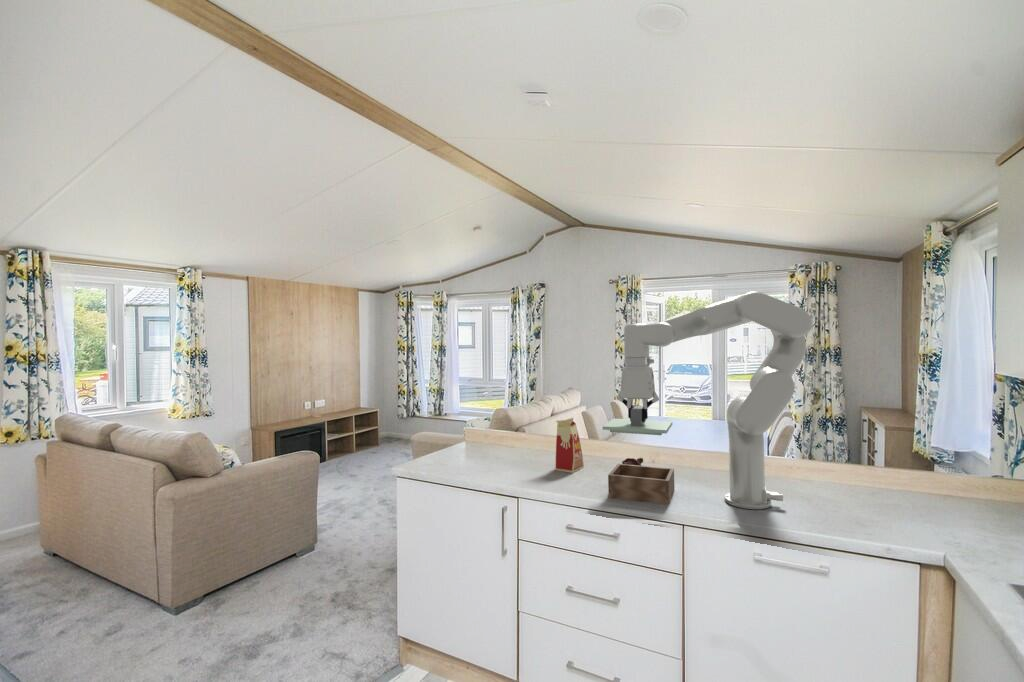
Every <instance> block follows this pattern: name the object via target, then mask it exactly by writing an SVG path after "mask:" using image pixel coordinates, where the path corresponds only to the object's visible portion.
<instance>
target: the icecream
mask: <svg viewBox="0 0 1024 682" xmlns="http://www.w3.org/2000/svg"><path fill="white" fill-rule="evenodd" d="M643 462H644V458H642V457H639V458H637V459H636V458H629V457H627V458H626V459H624V460H622V461H621V464H627V465H638V466H642V464H643Z"/></svg>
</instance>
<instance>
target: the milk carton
mask: <svg viewBox="0 0 1024 682" xmlns="http://www.w3.org/2000/svg"><path fill="white" fill-rule="evenodd" d="M555 422H556V423H557V426H556V440H555V468H554V469H555V471H558V472H565V473H571V474H573V473H576V472H577V471H579V470H582V469H583V468H585V467H584V466H585V465H584V456H583V450H582V445H581V444H582V443H581V440H580V436H579V431H578V427H577V423H576V422H574V417H571V418H567V419H562V420H561V419H560V420H555Z"/></svg>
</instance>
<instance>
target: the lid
mask: <svg viewBox="0 0 1024 682" xmlns="http://www.w3.org/2000/svg"><path fill="white" fill-rule="evenodd" d="M642 409H643V405H641V406H639V405H635V406H633V408H632V409H631V421H630V418H628V419H627V418H612V419H611V420H609V421H608V422H606V423H605V424H604V425H602V430H603V431H605V430H606V431H609V433H619V434H635V435H637V434H638V435H652V436H662V435H663V434H668V433H669V430H670V429H671V428H672V426H673V421H669V420H652V419H651V420H650V419H649V420H648V419H646V421H645V422H643V421H642Z"/></svg>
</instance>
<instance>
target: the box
mask: <svg viewBox="0 0 1024 682" xmlns="http://www.w3.org/2000/svg"><path fill="white" fill-rule="evenodd" d="M607 479H608V480H607V481H608V483H607V484H608V498H609V499H619V500H624V501H625V500H626V501H632V502H633V501H634V502H642V503H652V504H658V505H665V506H666V505H668V506H670V505H671V502H672V498H673V495H674V492H675V468H672V467H671V468H669V467H658V466H648V465H641V466H638V465H627V464H622V463H617V464H616V466H614V467H613V469H612V470H611V471H610V472H609V473H608V474H607Z"/></svg>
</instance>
